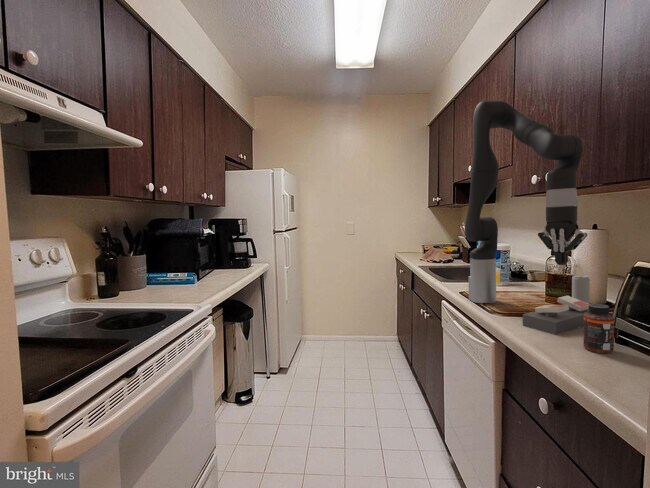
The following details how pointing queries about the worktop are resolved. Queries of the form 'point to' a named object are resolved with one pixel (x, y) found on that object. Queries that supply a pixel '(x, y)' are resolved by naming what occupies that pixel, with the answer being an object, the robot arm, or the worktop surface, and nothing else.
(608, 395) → the worktop surface
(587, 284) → the beverage can
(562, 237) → the robot arm
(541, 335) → the worktop surface
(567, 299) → the rocker outlet
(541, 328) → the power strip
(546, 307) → the rocker outlet
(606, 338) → the supplement bottle
